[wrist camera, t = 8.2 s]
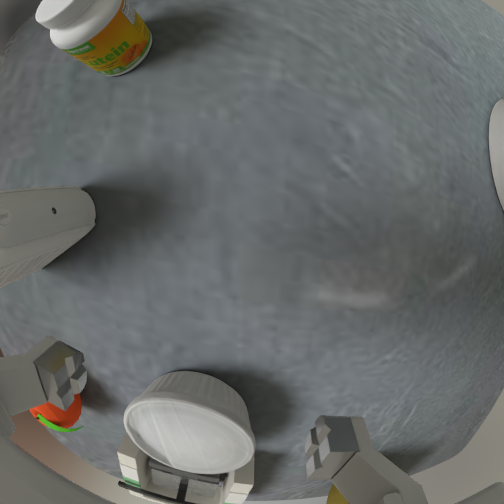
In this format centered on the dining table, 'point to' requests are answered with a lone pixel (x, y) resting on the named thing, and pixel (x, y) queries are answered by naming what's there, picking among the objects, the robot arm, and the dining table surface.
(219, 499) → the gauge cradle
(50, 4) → the supplement bottle
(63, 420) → the red tomato
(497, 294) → the dining table surface
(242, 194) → the dining table surface
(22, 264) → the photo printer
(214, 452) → the ramekin
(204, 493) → the grey metal pieces
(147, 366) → the dining table surface
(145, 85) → the dining table surface
